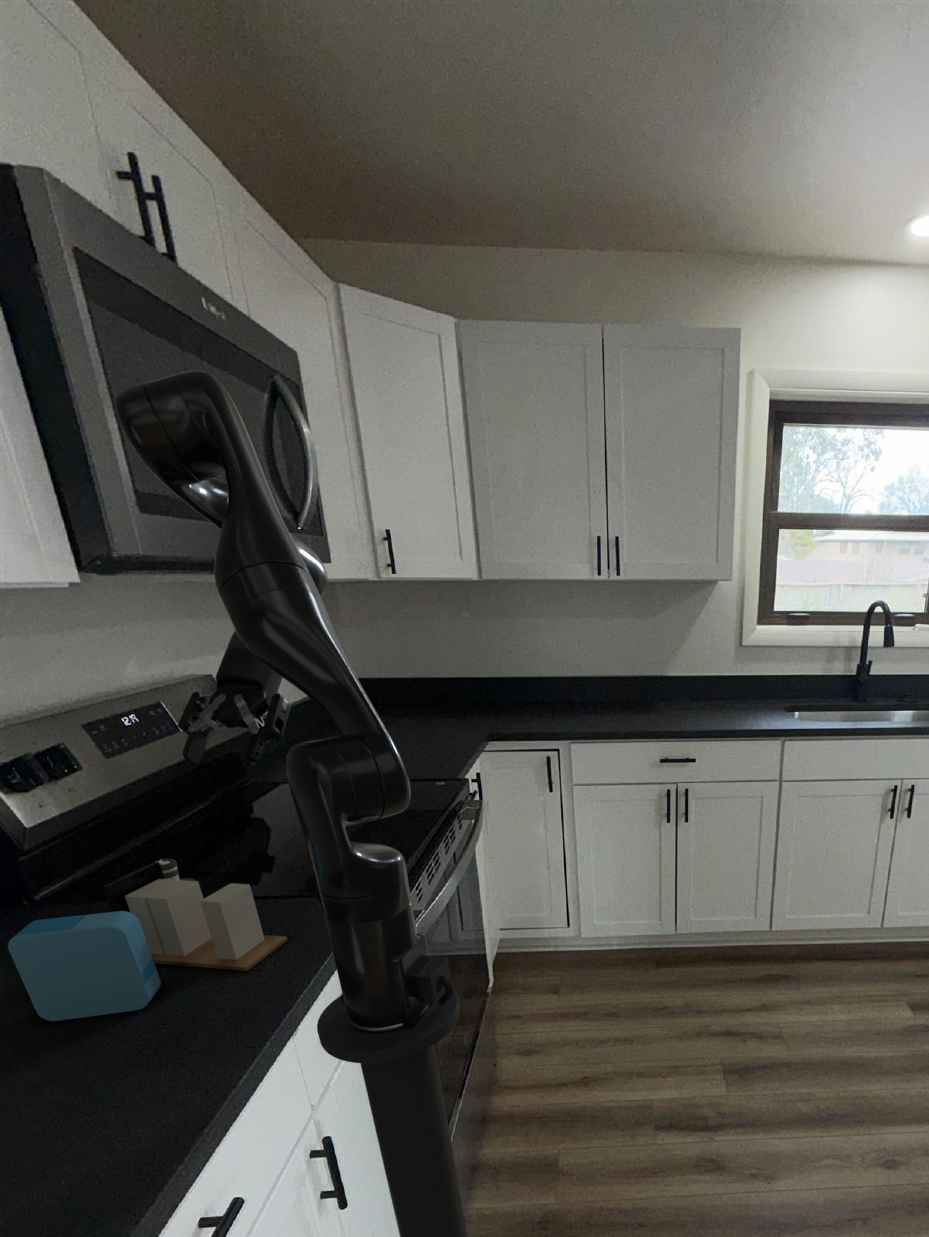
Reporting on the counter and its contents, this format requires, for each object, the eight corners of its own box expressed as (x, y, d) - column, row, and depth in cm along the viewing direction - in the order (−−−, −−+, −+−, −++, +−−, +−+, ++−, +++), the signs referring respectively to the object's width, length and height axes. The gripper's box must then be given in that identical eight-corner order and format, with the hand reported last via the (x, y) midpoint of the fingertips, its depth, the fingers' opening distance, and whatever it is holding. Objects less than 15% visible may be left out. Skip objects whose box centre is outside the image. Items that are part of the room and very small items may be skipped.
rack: (288, 939, 106) (269, 868, 101) (246, 971, 98) (224, 895, 93) (177, 931, 109) (154, 861, 104) (128, 961, 101) (101, 886, 96)
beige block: (264, 939, 105) (249, 884, 101) (236, 960, 100) (219, 902, 96) (246, 938, 105) (230, 883, 102) (217, 958, 100) (199, 901, 96)
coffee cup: (173, 905, 117) (164, 877, 115) (112, 899, 119) (103, 871, 117) (228, 876, 128) (220, 850, 126) (171, 871, 130) (163, 846, 128)
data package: (164, 990, 94) (136, 908, 89) (152, 1009, 90) (121, 924, 85) (58, 1004, 91) (22, 920, 86) (40, 1024, 87) (2, 937, 82)
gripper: (191, 645, 99) (150, 746, 93) (284, 646, 97) (247, 748, 91) (228, 679, 106) (192, 774, 100) (315, 680, 104) (283, 777, 98)
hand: (218, 762), depth 96 cm, fingers open, 8 cm apart
